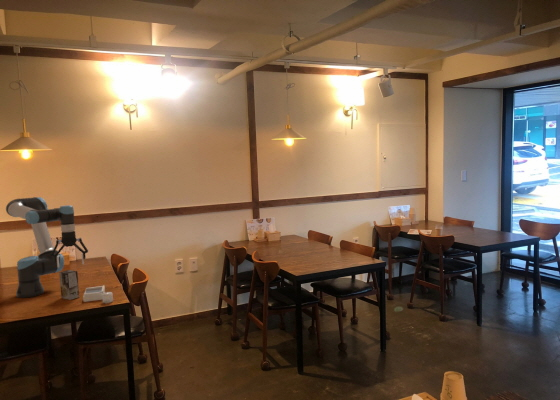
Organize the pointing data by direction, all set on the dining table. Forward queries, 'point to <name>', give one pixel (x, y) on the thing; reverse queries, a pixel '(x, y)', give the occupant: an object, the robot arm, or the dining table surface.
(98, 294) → the white open box
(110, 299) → the white rounded block
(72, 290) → the coffee box
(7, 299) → the dining table surface
